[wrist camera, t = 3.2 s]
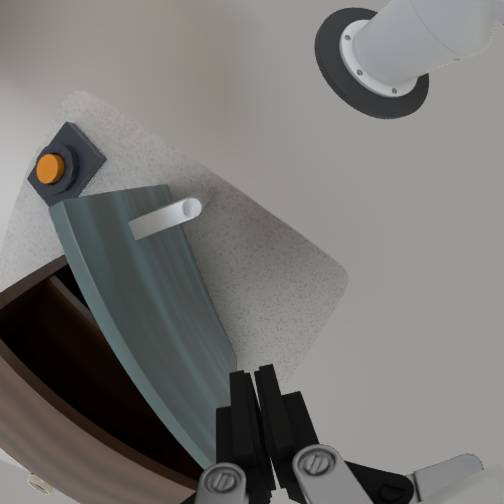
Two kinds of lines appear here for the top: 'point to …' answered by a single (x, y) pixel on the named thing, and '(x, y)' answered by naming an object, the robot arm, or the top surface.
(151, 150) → the top surface
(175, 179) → the top surface
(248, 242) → the top surface
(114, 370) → the cupboard
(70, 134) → the switch block
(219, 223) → the top surface
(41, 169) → the button
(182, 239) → the cupboard door
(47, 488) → the character mug
